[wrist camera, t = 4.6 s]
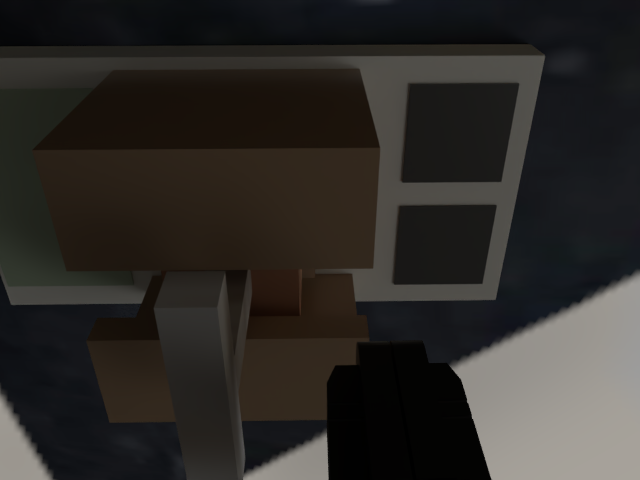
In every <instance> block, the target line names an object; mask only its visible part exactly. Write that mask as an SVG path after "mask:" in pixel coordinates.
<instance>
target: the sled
mask: <svg viewBox="0 0 640 480" xmlns="http://www.w3.org/2000/svg"><path fill="white" fill-rule="evenodd" d="M161 274H162V280H163V284H162V286H161V289H160V292H159V295H158V297H157V300H156V303H155V306H154V313H155V318H156V323H157V328H158V333H159V338H160V343H161V348H162V353H163V358H164V364H165V369H166V374H167V379H168V384H169V389H170V394H171V399H172V404H173V409H174V415H175V420H176V425H177V430H178V435H179V440H180V445H181V450H182V455H183V460H184V466H185V471H186V476H187V480H243V474H244V465H245V452H244V442H243V433H242V424H241V414H240V405H239V396H238V392H239V385H240V377H241V370H242V363H243V356H244V348H245V341H246V334H247V327H248V319H249V316H301V279H302V278H315V269H279V270H171V271H161Z"/></svg>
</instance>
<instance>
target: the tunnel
mask: <svg viewBox="0 0 640 480" xmlns="http://www.w3.org/2000/svg"><path fill="white" fill-rule="evenodd" d="M544 59H545V55H544V54H543V53H541V52H540V51H539V50H537V49H536V48H535V47H533V46H532V45H531V44H447V45H213V46H0V275H1V277H2V280H3V283H4V286H5V288H6V291H7V294H8V297H9V299H10V302H11V305H31V304H131V303H141V306H140V309H139V311H138V314H137V316H136V318H97V320H96V322H95V324H94V326H93V328H92V330H91V332H90V335H89V337H88V339H87V345H88V348H89V352H90V355H91V359H92V362H93V366H94V369H95V373H96V376H97V380H98V383H99V387H100V390H101V394H102V397H103V401H104V404H105V408H106V411H107V415H108V418H109V422H110V423H111V422H176V420H175V415H174V409H173V404H172V399H171V394H170V389H169V384H168V379H167V374H166V369H165V364H164V358H163V353H162V348H161V343H160V338H159V333H158V328H157V323H156V318H155V313H154V306H155V303H156V300H157V297H158V295H159V292H160V289H161V286H162V284H163V280H162V274H161V271H171V270H279V269H315V278H302V279H301V316H249V319H248V327H247V334H246V341H245V348H244V356H243V363H242V370H241V377H240V385H239V392H238V396H239V405H240V414H241V421H269V420H327V381H328V379H329V377H330V375H331V373H332V371H333V369H334V367H335V365H356V344H357V342H369V333H368V325H367V318H366V315H357V313H356V303H355V301H430V300H495V299H496V294H497V290H498V285H499V280H500V275H501V270H502V265H503V260H504V255H505V250H506V245H507V240H508V235H509V231H510V226H511V221H512V216H513V211H514V206H515V201H516V196H517V191H518V186H519V181H520V177H521V172H522V167H523V162H524V157H525V152H526V147H527V142H528V137H529V132H530V127H531V123H532V118H533V113H534V108H535V103H536V98H537V93H538V88H539V83H540V78H541V73H542V68H543V64H544Z"/></svg>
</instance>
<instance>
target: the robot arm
mask: <svg viewBox="0 0 640 480" xmlns="http://www.w3.org/2000/svg"><path fill="white" fill-rule="evenodd" d="M327 444H328V472H329V480H491V477H490V474H489V471H488V467H487V464H486V461H485V457H484V454H483V451H482V447H481V444H480V441H479V438H478V434H477V431H476V428H475V424H474V421H473V419H472V414H471V411H470V408H469V404H468V403H467V398H466V395H465V391H464V388H463V385H462V382H461V379H460V378H459V377H458V376H457V374H456V373H455V372H454V371H453V370H452V369H451V367H450V366H449V365H448V364H447V363H428V358H427V354H426V350H425V346H424V343H423V341H422V340H413V341H390V344H389V342H388V341H371V342H357V344H356V365H335V367H334V369H333V371H332V373H331V375H330V377H329V379H328V381H327Z"/></svg>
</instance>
